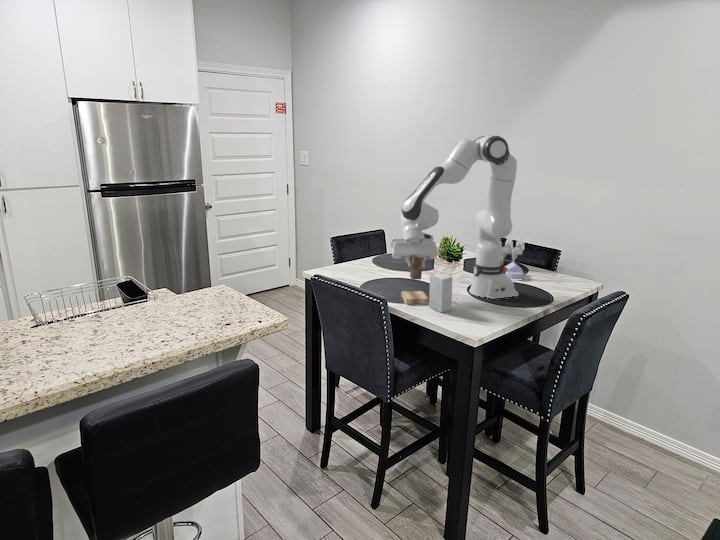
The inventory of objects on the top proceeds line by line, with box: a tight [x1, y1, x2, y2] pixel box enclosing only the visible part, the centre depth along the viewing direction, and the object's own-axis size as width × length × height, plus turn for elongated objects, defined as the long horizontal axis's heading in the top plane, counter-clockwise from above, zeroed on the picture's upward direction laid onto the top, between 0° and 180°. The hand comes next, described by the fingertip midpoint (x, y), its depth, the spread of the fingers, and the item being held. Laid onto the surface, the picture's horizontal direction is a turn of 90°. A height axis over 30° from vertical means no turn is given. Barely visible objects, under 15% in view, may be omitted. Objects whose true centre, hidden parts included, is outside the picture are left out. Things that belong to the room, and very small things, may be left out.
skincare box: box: [428, 272, 453, 314], centre depth 203 cm, size 8×6×15 cm
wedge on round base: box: [504, 261, 524, 279], centre depth 253 cm, size 9×7×13 cm
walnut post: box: [409, 255, 423, 280], centre depth 210 cm, size 4×4×10 cm
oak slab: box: [400, 290, 429, 305], centre depth 214 cm, size 10×10×3 cm
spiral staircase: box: [475, 235, 525, 266], centre depth 274 cm, size 18×18×25 cm
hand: (416, 266), depth 209 cm, fingers closed on walnut post, 4 cm apart
